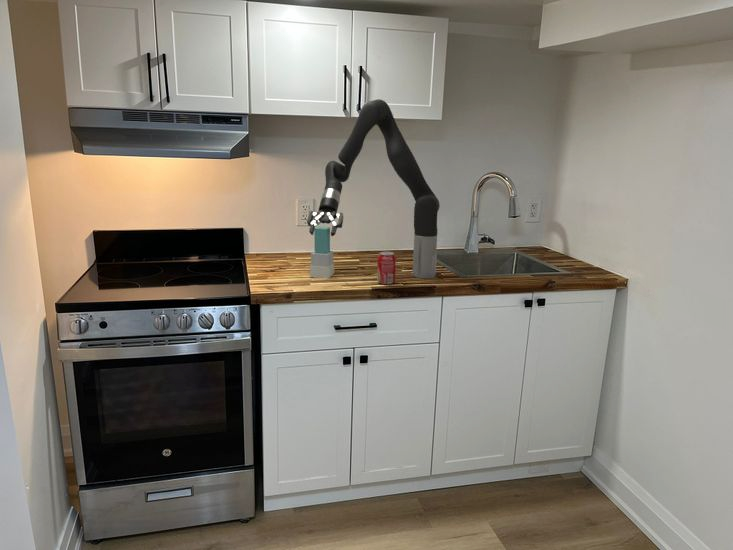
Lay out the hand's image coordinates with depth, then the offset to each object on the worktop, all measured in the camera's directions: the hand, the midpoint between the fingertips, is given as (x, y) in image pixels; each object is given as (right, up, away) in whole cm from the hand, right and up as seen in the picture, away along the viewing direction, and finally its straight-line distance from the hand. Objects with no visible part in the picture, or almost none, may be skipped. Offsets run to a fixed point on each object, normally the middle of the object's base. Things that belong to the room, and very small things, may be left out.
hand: (321, 234), depth 218 cm
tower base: (0, -17, +5) cm, 17 cm away
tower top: (0, -12, +4) cm, 12 cm away
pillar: (0, -7, +3) cm, 7 cm away
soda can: (+25, -19, -3) cm, 32 cm away
